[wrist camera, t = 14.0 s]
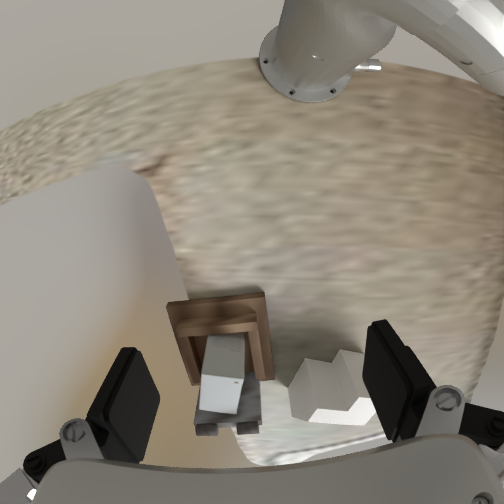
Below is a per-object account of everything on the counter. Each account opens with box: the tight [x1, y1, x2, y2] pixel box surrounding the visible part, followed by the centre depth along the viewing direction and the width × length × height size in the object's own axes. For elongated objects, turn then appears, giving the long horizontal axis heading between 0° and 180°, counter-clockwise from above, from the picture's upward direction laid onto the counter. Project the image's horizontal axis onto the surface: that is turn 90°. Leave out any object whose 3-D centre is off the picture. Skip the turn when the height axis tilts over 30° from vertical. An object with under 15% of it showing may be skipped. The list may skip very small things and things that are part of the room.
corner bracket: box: [288, 349, 376, 425], centre depth 44 cm, size 11×11×12 cm
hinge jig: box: [166, 292, 275, 436], centre depth 40 cm, size 15×17×14 cm
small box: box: [199, 332, 245, 414], centre depth 40 cm, size 8×6×10 cm
